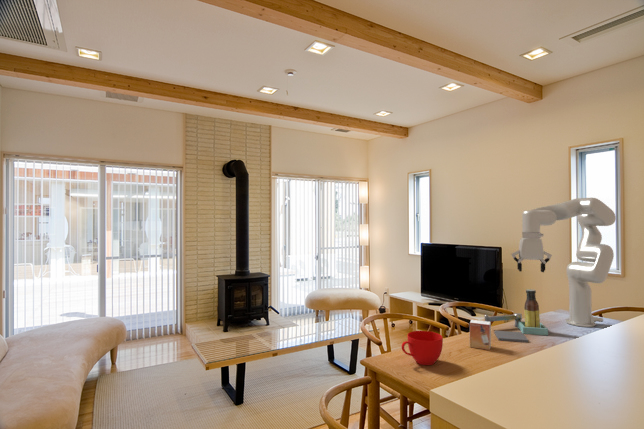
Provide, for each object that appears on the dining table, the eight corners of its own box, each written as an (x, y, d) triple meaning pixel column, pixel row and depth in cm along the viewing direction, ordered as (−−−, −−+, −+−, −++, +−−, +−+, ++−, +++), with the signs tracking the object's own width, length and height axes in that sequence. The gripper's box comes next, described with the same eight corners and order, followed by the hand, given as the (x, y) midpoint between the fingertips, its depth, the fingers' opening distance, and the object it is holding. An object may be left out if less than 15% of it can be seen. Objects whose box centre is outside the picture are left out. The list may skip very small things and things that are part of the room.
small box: (469, 347, 161) (469, 322, 161) (471, 343, 166) (470, 319, 166) (490, 350, 157) (489, 324, 157) (491, 346, 162) (490, 321, 162)
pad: (522, 334, 178) (521, 332, 178) (528, 342, 166) (528, 340, 166) (494, 332, 181) (494, 330, 181) (498, 340, 170) (498, 338, 170)
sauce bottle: (536, 329, 186) (535, 288, 186) (542, 333, 180) (542, 291, 180) (522, 329, 187) (521, 288, 187) (528, 333, 180) (527, 290, 181)
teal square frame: (539, 327, 189) (539, 320, 189) (548, 335, 176) (547, 327, 176) (514, 325, 192) (514, 318, 192) (520, 333, 179) (520, 325, 179)
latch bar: (523, 319, 189) (523, 313, 189) (487, 322, 184) (487, 316, 184) (518, 317, 193) (518, 311, 193) (482, 320, 188) (482, 314, 188)
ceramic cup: (392, 360, 146) (391, 334, 146) (427, 354, 153) (427, 329, 153) (413, 373, 134) (413, 344, 134) (450, 365, 141) (450, 338, 141)
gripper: (548, 236, 185) (548, 271, 185) (509, 235, 190) (509, 269, 189) (553, 236, 178) (553, 273, 177) (513, 236, 182) (513, 271, 182)
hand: (531, 271), depth 183 cm, fingers open, 9 cm apart
